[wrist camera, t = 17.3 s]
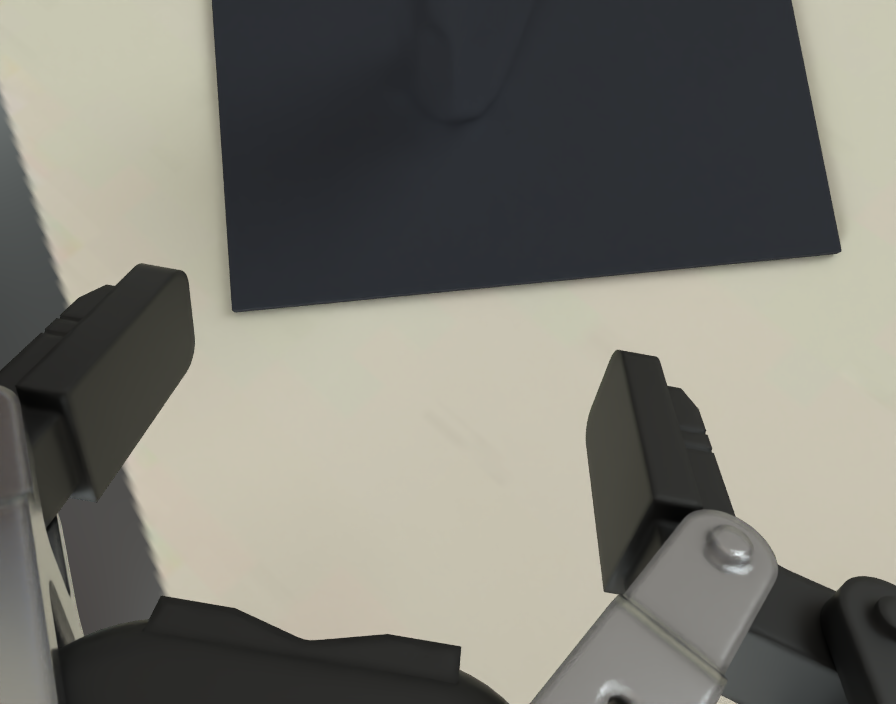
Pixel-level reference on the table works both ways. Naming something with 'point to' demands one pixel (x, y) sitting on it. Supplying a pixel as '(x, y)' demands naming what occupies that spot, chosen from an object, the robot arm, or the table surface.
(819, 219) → the mouse pad
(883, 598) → the robot arm
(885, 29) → the table surface
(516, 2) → the milkshake
